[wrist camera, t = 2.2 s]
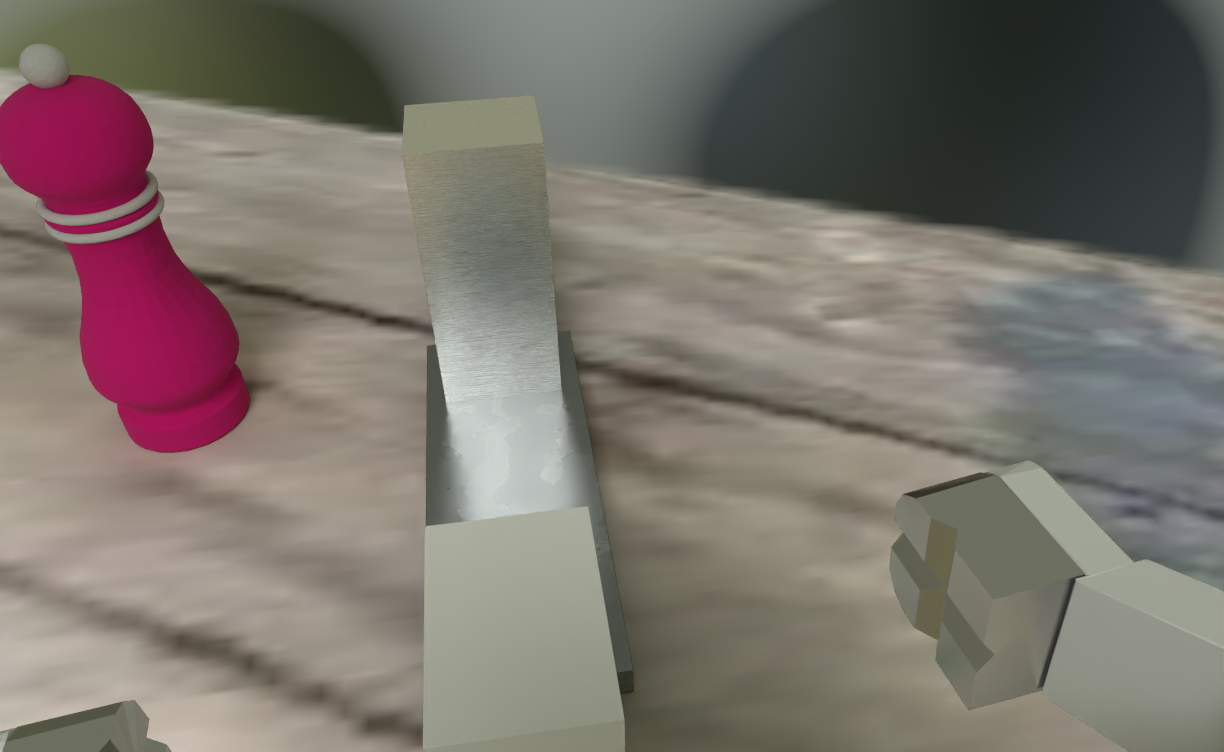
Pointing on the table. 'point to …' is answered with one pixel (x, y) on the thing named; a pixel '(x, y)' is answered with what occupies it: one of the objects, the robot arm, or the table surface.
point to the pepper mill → (122, 257)
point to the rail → (520, 469)
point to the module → (518, 638)
